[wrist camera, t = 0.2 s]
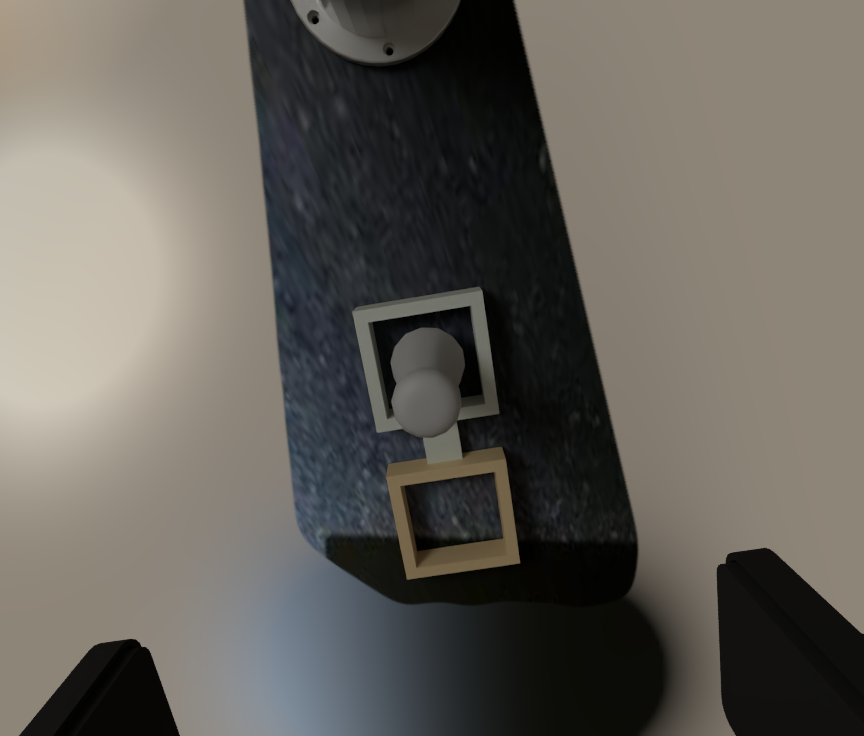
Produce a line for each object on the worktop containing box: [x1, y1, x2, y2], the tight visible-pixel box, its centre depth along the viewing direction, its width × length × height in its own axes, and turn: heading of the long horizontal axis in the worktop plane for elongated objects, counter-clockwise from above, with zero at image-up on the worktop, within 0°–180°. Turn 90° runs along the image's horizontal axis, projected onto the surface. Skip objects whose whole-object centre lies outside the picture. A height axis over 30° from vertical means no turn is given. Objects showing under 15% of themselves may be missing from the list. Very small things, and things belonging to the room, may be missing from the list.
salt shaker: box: [391, 328, 465, 438], centre depth 38 cm, size 6×6×13 cm
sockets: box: [353, 287, 520, 580], centre depth 45 cm, size 24×10×2 cm, turn 9°
